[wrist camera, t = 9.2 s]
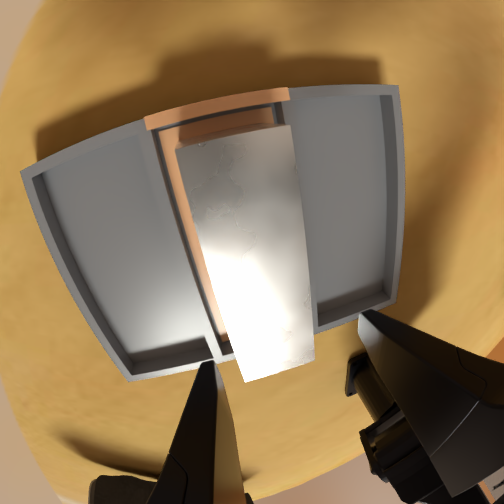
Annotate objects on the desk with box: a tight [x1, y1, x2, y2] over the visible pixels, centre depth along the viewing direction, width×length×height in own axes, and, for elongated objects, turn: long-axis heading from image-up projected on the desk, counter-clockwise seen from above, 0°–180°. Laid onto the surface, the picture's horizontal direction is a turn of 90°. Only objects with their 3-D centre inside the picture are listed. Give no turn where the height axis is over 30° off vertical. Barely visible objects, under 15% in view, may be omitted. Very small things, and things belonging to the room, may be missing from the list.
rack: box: [20, 84, 405, 382], centre depth 15 cm, size 15×20×3 cm
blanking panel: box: [174, 123, 315, 382], centre depth 14 cm, size 12×4×4 cm, turn 11°
